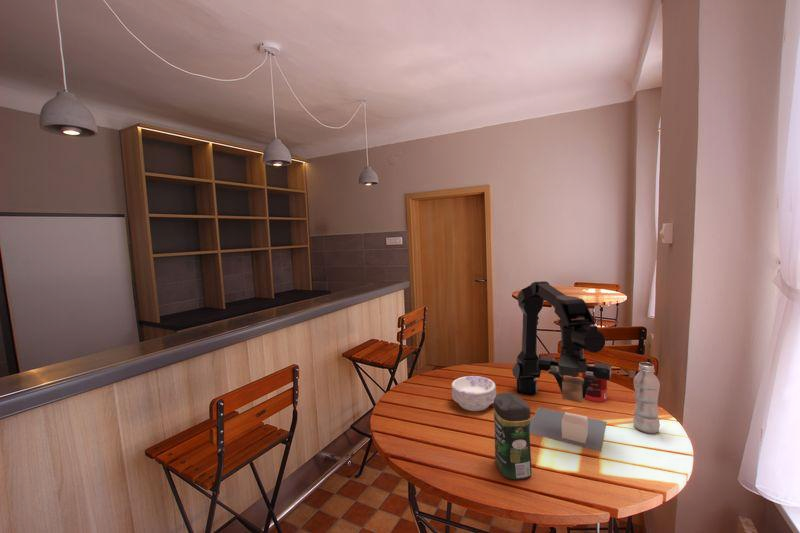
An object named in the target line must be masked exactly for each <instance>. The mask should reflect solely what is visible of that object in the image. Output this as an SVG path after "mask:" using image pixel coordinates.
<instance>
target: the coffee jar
mask: <svg viewBox="0 0 800 533" xmlns="http://www.w3.org/2000/svg"><path fill="white" fill-rule="evenodd" d="M530 409H531V408H530V405H528V403H527V402H526V400H524V399H523V398H522V397H521V396H519V395H517V394H515V393H514V392H501V393H498V394H496V397H495V398H494V402H493V418H494V419H493V421H494V460H495V464H496V466H497V468H498V469H499V471H500V473H501V474H502V475H503V476H504V477H505V478H508V479H512V480H515V481H516V480H523V479H527V478H529V477H531V475H532V474H533V472H532V454H531V438H530V437H531V433H530V421H531V410H530Z"/></svg>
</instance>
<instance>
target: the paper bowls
mask: <svg viewBox="0 0 800 533" xmlns="http://www.w3.org/2000/svg"><path fill="white" fill-rule="evenodd" d="M496 387H497V386H496V383H495V382H494V381H493V380H492V379H489V378H487V377H484V376H477V375H469V376H468V375H466V376H461V377H458V378H456V379H454V380H453V381H452V383H451V396H452V400H453V401H454V402H456V403H457V404H458V405H459V406H460V407H461V408H462V409H464V410H466V411H471V412H480V411H484V410H486V409H488V408H489V407H490V405H492V404H494V398H495V397H496V396H497V388H496Z"/></svg>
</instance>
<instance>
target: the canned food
mask: <svg viewBox="0 0 800 533" xmlns="http://www.w3.org/2000/svg"><path fill="white" fill-rule="evenodd" d="M590 366H594V364H590ZM585 374H586V373H585V372H582V373H581V375H582V376H581V377H582V378H581V379H584V377H585ZM584 400H587V401H588V402H589V401H590V402H594V403H604V402H607V400H608V380H605V379H598V378H597V380H595V381H594V380H592V381H591V383H590V385H589V387H588V390H587V393H586V396H585V398H584Z"/></svg>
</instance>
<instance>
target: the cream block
mask: <svg viewBox="0 0 800 533" xmlns="http://www.w3.org/2000/svg"><path fill="white" fill-rule="evenodd" d="M564 413H565V414H564V416H563V419H562V438H565V439H569V440H573V441H577V442H581V443H586V439H587V435H588V418H589V416H585V415H582V414H576V413H571V412H567V411H565V412H564Z"/></svg>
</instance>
